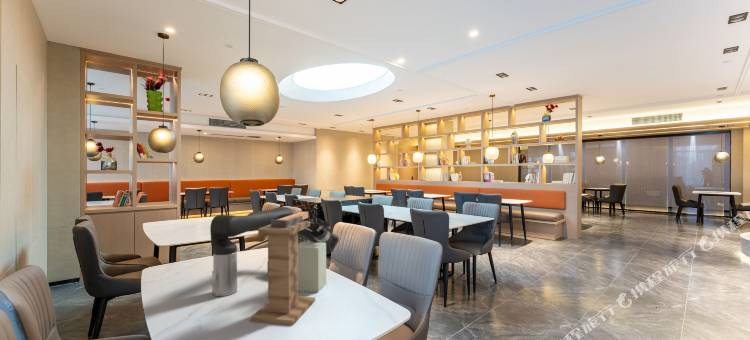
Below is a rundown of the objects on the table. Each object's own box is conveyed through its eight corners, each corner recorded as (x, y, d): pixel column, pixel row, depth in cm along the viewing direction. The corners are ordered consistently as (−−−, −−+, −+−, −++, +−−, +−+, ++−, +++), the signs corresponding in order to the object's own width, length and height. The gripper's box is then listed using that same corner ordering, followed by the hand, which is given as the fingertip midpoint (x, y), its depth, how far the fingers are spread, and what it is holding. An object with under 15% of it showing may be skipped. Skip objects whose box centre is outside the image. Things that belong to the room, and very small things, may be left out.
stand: (293, 325, 108) (292, 223, 108) (250, 321, 111) (249, 222, 111) (315, 301, 128) (314, 215, 128) (278, 298, 131) (277, 214, 131)
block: (284, 226, 116) (284, 219, 116) (276, 226, 117) (276, 219, 117) (308, 217, 138) (308, 211, 138) (301, 217, 139) (301, 211, 139)
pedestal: (318, 292, 137) (318, 248, 137) (292, 290, 140) (292, 246, 139) (326, 284, 147) (326, 242, 147) (301, 282, 149) (301, 241, 149)
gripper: (333, 240, 151) (322, 228, 137) (304, 239, 154) (291, 227, 140) (335, 225, 155) (325, 212, 141) (307, 224, 157) (295, 211, 144)
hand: (308, 220), depth 140 cm, fingers open, 8 cm apart
